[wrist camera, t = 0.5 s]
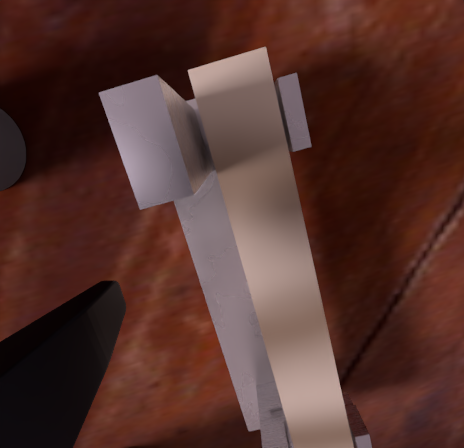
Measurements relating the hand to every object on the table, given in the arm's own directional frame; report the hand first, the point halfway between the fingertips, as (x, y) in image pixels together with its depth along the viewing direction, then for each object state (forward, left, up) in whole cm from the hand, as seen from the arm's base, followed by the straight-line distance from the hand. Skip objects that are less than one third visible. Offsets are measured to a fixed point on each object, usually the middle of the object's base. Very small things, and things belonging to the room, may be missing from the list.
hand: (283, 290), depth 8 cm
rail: (-5, 0, -8) cm, 10 cm away
